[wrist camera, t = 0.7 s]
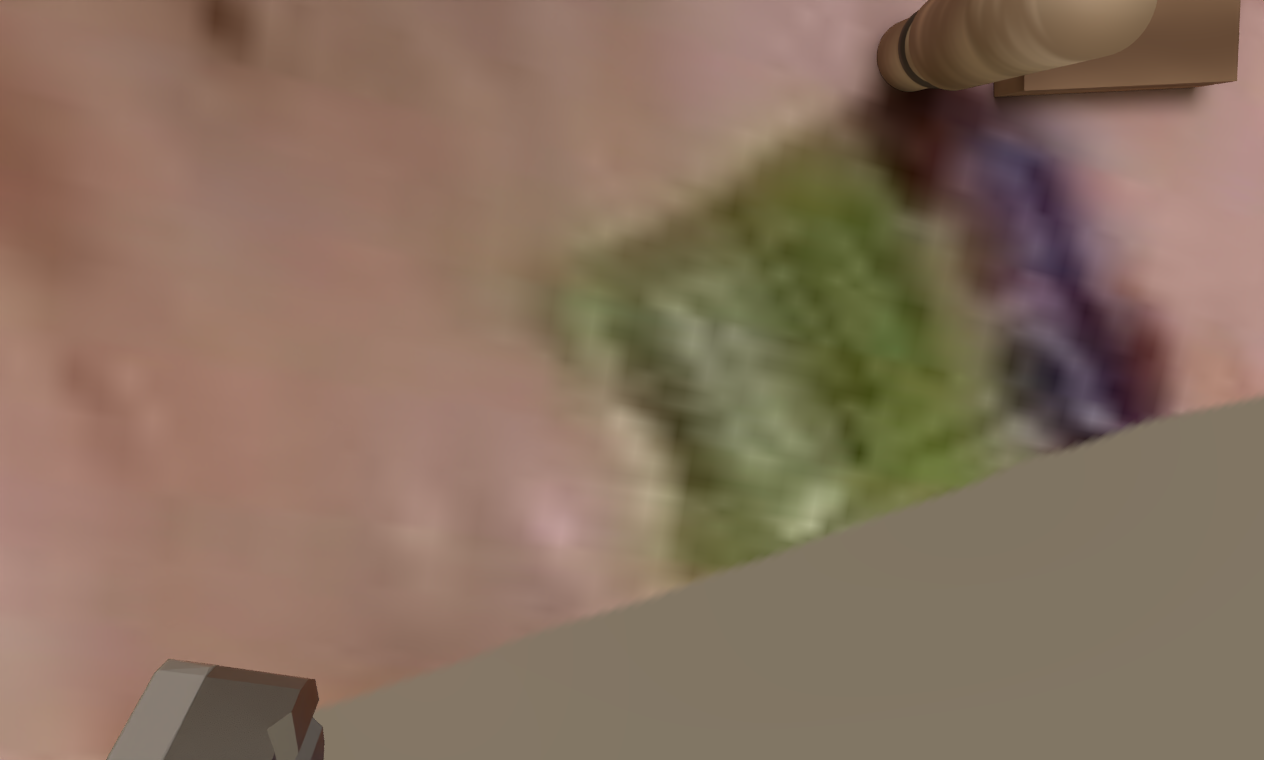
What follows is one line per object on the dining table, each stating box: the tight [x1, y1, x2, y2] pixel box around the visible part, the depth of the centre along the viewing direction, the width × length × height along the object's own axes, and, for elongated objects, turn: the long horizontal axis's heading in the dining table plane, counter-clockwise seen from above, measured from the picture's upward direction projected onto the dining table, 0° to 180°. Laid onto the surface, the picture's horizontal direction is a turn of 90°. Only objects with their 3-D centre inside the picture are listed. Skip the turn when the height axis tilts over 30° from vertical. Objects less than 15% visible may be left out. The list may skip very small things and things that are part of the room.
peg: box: [877, 0, 1157, 92], centre depth 42 cm, size 4×4×16 cm
